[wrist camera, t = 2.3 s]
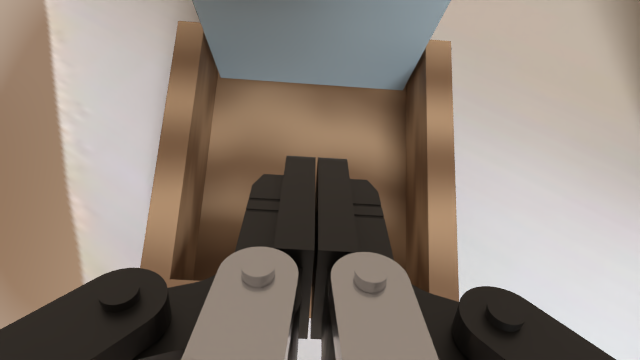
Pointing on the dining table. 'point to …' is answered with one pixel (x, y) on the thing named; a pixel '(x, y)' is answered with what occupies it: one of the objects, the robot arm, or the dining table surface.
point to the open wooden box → (307, 141)
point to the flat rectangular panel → (320, 39)
